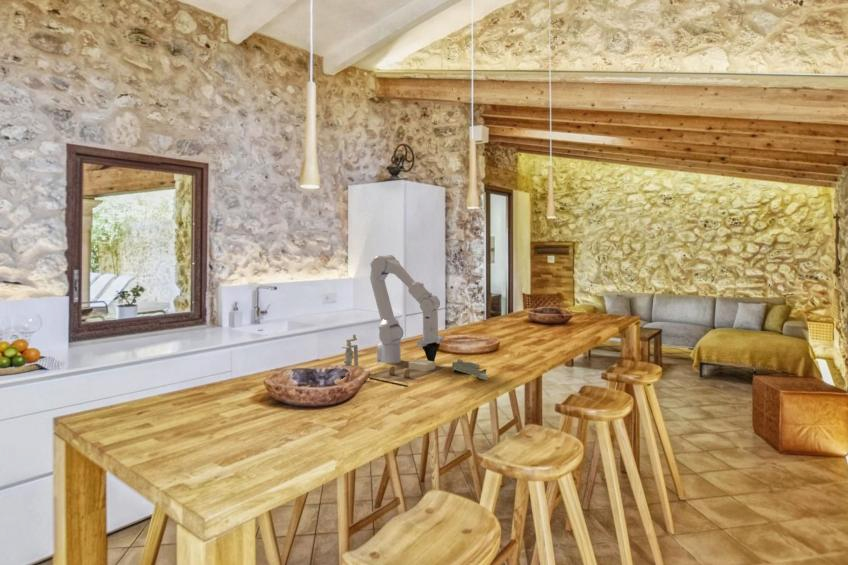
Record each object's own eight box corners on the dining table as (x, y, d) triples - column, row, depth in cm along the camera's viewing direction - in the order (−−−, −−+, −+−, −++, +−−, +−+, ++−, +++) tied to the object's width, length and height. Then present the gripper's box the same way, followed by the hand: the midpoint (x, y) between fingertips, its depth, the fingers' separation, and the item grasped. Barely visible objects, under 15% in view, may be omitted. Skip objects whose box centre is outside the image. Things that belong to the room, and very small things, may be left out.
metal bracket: (452, 364, 172) (453, 355, 187) (448, 380, 173) (449, 369, 188) (491, 376, 171) (489, 365, 186) (487, 391, 172) (485, 379, 187)
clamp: (336, 379, 176) (335, 338, 175) (349, 372, 185) (348, 333, 184) (346, 380, 175) (345, 339, 173) (359, 373, 184) (358, 334, 182)
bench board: (369, 379, 176) (369, 366, 175) (411, 365, 195) (411, 354, 194) (405, 386, 165) (404, 373, 165) (446, 371, 184) (446, 359, 184)
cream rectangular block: (408, 368, 184) (408, 362, 184) (418, 365, 188) (418, 358, 188) (425, 371, 179) (425, 365, 179) (435, 368, 184) (435, 361, 183)
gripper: (427, 331, 179) (427, 367, 180) (449, 325, 190) (450, 360, 191) (412, 329, 183) (413, 365, 184) (435, 324, 195) (435, 357, 196)
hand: (431, 362), depth 188 cm, fingers closed
